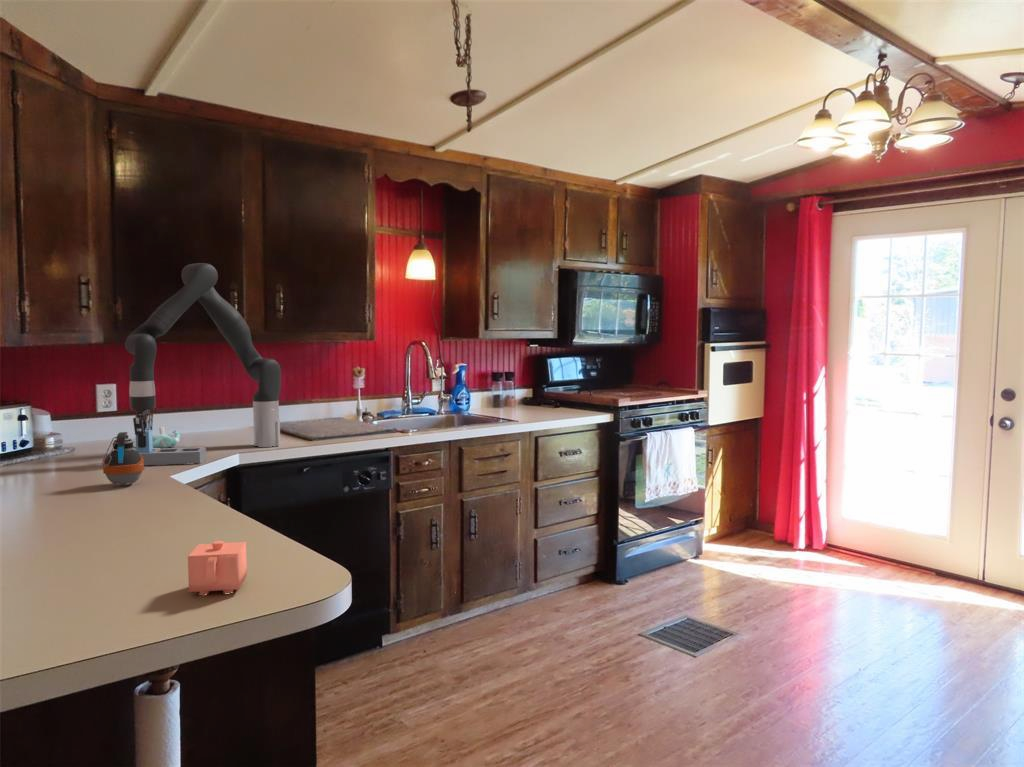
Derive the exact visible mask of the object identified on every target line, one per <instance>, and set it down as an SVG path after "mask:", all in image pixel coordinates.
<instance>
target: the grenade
mask: <svg viewBox="0 0 1024 767" xmlns="http://www.w3.org/2000/svg"><path fill="white" fill-rule="evenodd" d="M114 439H115V440H114ZM111 446H112V449H111V450H110V448H111ZM109 450H110V452H109ZM108 452H109V453H108ZM101 466H102V469H103V475H104V474H105V476H106V478H107V480H109V482H110V483H112V484H113V485H116V486H120V487H123V486H124V487H126V486H129V485H130V486H131V485H132V484H134V483H136V482H137V481H138V480H139V479H140V477H141V476H142V473H143V471H144V470H145V466H144V460H143V457H142V455H141V454H139V453H138V452H137V451H135V449H134V442H133V440H132V439H130V438H129V435H128V432H127V431H123V432H119V433H117V435H116V436H114V437H112V439H111V442H110V444H109V446H108V448H107V451H106V453H105V454H104V457H103V459H102V461H101Z"/></svg>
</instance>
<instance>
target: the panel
mask: <svg viewBox="0 0 1024 767" xmlns="http://www.w3.org/2000/svg"><path fill="white" fill-rule="evenodd" d="M134 450H135V451H136V448H135V449H134ZM139 454H141V455H142V457H143V460H144V465H156V466H167V465H166V464H184V465H188V464H187V463H198V464H197V465H201V464H202V463H203V462H204V461H205V460H206V459H207V447H206V446H201V447H200V446H199V447H198V446H197V447H196V446H194V447H171V448H160V449H153V452H146V453H139ZM201 462H202V463H201ZM200 463H201V464H200Z"/></svg>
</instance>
